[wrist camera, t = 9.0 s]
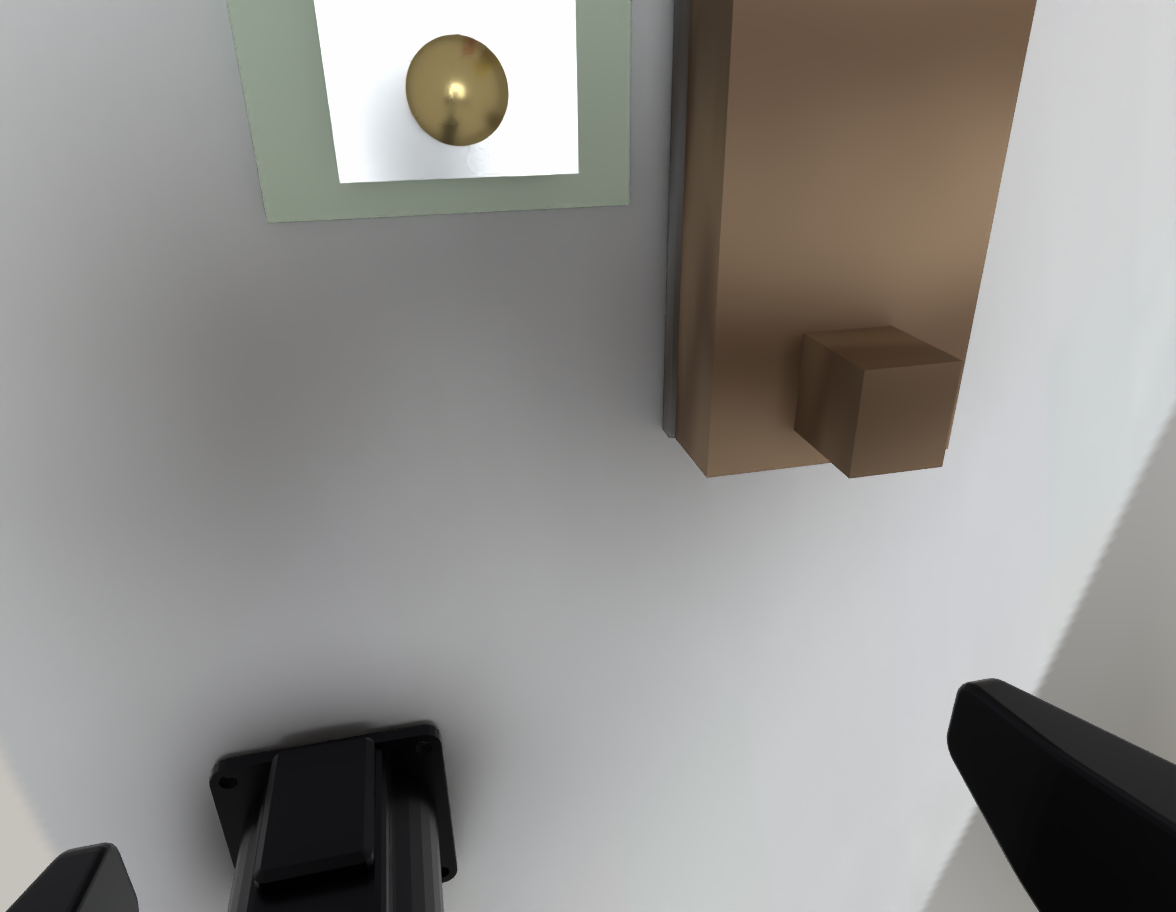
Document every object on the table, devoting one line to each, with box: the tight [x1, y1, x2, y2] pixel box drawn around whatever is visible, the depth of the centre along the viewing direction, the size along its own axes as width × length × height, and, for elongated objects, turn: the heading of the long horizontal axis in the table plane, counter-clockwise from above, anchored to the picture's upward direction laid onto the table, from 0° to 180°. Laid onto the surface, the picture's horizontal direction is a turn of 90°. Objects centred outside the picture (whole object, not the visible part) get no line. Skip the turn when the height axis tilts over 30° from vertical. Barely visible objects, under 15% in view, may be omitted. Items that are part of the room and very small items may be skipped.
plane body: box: [663, 0, 1037, 478], centre depth 16 cm, size 18×7×6 cm, turn 1°
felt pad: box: [227, 0, 631, 223], centre depth 16 cm, size 8×8×1 cm
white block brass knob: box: [314, 0, 578, 183], centre depth 15 cm, size 6×4×3 cm
